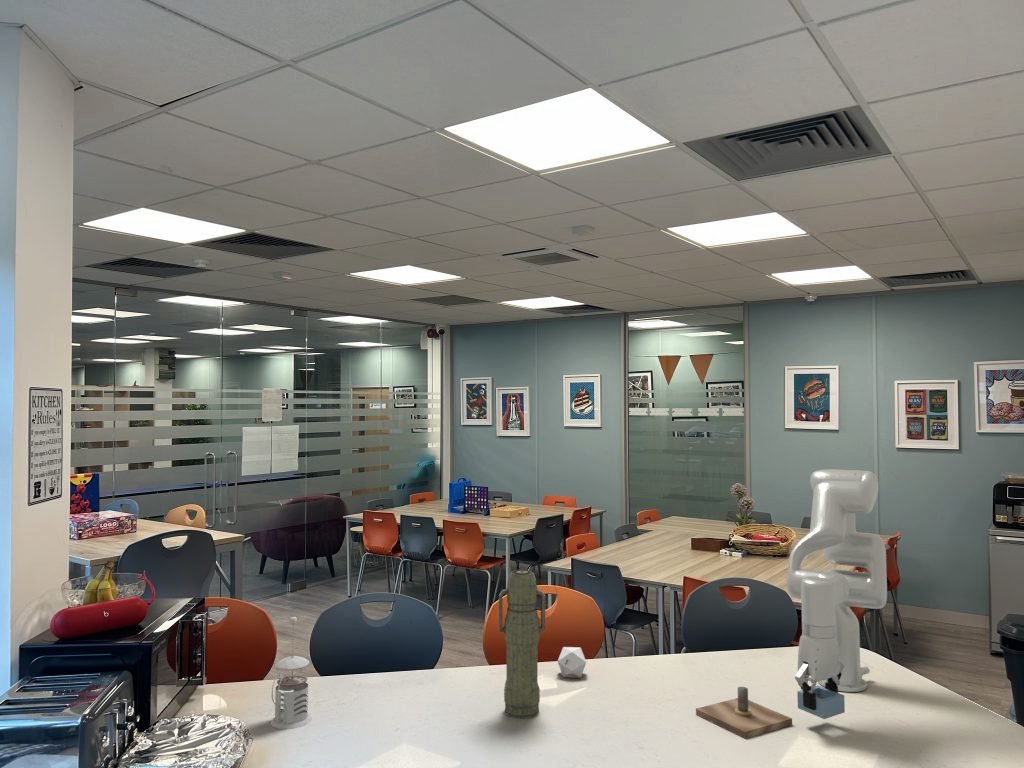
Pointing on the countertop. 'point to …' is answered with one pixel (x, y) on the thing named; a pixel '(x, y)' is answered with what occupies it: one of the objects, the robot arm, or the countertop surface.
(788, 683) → the countertop surface
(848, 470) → the robot arm
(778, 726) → the post board
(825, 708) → the slate ring
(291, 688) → the french press
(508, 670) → the thermos
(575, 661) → the die
